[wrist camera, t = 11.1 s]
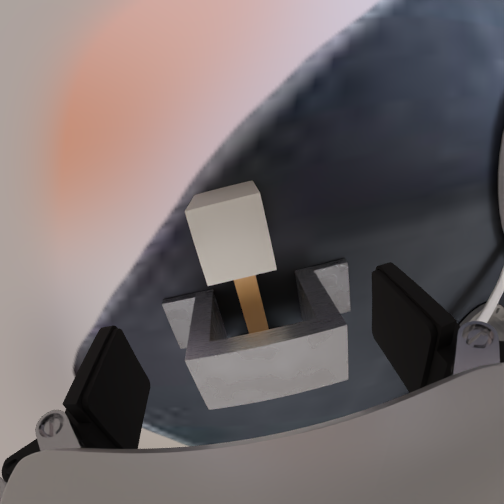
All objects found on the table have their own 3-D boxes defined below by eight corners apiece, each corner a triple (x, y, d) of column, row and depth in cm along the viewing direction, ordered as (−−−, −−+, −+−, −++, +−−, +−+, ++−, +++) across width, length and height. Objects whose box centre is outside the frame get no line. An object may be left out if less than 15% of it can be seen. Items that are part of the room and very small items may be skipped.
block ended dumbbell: (252, 180, 22) (260, 192, 17) (289, 349, 28) (300, 389, 23) (194, 194, 22) (184, 211, 17) (244, 359, 28) (248, 400, 23)
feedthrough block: (344, 258, 25) (390, 311, 17) (347, 306, 27) (386, 366, 19) (163, 299, 25) (141, 366, 17) (181, 343, 27) (169, 413, 19)
